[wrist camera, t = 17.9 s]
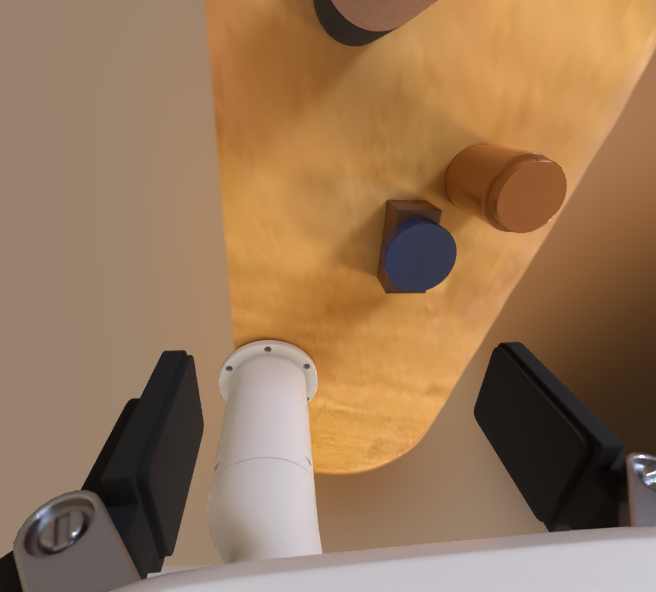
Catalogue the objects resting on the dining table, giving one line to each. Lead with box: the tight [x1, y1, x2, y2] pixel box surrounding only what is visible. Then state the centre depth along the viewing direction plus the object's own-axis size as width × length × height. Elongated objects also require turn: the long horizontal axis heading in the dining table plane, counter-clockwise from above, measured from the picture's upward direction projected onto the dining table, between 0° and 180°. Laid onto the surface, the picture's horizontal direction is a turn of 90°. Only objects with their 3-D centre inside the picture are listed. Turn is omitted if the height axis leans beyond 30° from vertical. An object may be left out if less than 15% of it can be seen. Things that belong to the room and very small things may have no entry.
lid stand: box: [377, 200, 442, 293], centre depth 38 cm, size 9×4×4 cm, turn 177°
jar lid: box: [381, 218, 457, 292], centre depth 35 cm, size 7×7×2 cm
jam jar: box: [445, 144, 567, 233], centre depth 33 cm, size 7×7×10 cm
